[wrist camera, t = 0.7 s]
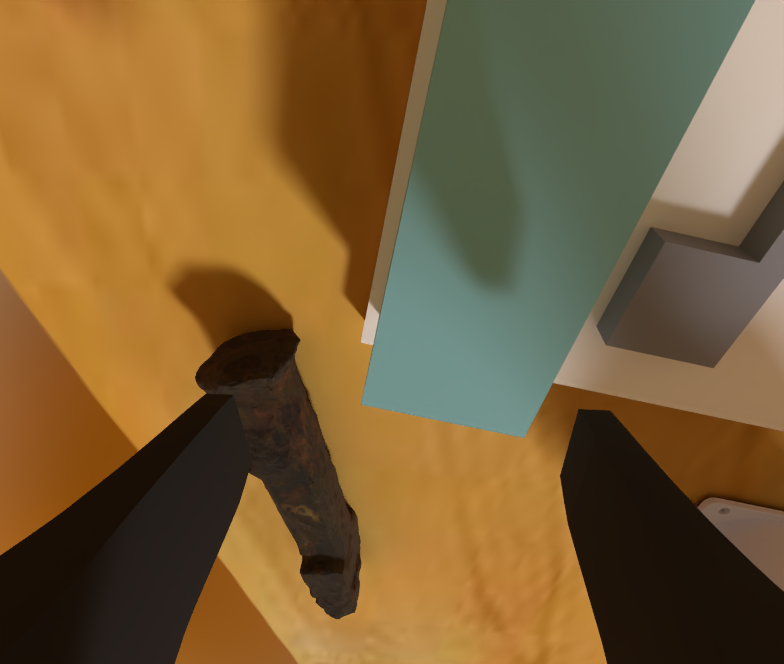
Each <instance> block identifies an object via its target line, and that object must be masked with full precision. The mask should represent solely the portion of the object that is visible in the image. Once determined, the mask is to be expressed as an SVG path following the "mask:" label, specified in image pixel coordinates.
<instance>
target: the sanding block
mask: <svg viewBox="0 0 784 664" xmlns="http://www.w3.org/2000/svg"><path fill="white" fill-rule="evenodd" d="M754 2H755V0H447V2H446V7H445V11H444V16H443V21H442V25H441V30H440V35H439V39H438V44H437V49H436V53H435V58H434V63H433V67H432V72H431V77H430V81H429V86H428V91H427V95H426V100H425V105H424V109H423V114H422V119H421V123H420V128H419V133H418V137H417V142H416V147H415V151H414V156H413V161H412V165H411V170H410V174H409V179H408V184H407V188H406V193H405V198H404V202H403V207H402V212H401V216H400V221H399V226H398V230H397V235H396V240H395V244H394V249H393V254H392V258H391V263H390V268H389V272H388V277H387V282H386V286H385V291H384V296H383V300H382V305H381V310H380V314H379V319H378V324H377V329H376V334H375V339H374V344H373V348H372V353H371V358H370V363H369V368H368V373H367V378H366V382H365V387H364V392H363V397H362V402H361V405H366V406H371V407H375V408H380V409H385V410H390V411H395V412H400V413H405V414H410V415H414V416H419V417H424V418H429V419H434V420H439V421H444V422H449V423H453V424H458V425H463V426H468V427H473V428H478V429H483V430H488V431H493V432H497V433H502V434H507V435H512V436H517V437H522V438H524V437H525V435H526V433H527V431H528V429H529V427H530V426H531V424H532V422H533V420H534V418H535V416H536V414H537V412H538V410H539V409H540V407H541V405H542V403H543V401H544V399H545V397H546V395H547V393H548V391H549V390H550V388H551V386H552V384H553V382H554V380H555V378H556V376H557V374H558V373H559V371H560V369H561V367H562V365H563V363H564V361H565V359H566V357H567V356H568V354H569V352H570V350H571V348H572V346H573V344H574V342H575V340H576V339H577V337H578V335H579V333H580V331H581V329H582V327H583V325H584V323H585V322H586V320H587V318H588V316H589V314H590V312H591V310H592V308H593V306H594V305H595V303H596V301H597V299H598V297H599V295H600V293H601V291H602V289H603V287H604V286H605V284H606V282H607V280H608V278H609V276H610V274H611V272H612V270H613V269H614V267H615V265H616V263H617V261H618V259H619V257H620V255H621V253H622V252H623V250H624V248H625V246H626V244H627V242H628V240H629V238H630V236H631V235H632V233H633V231H634V229H635V227H636V225H637V223H638V221H639V219H640V218H641V216H642V214H643V212H644V210H645V208H646V206H647V204H648V202H649V201H650V199H651V197H652V195H653V193H654V191H655V189H656V187H657V185H658V183H659V182H660V180H661V178H662V176H663V174H664V172H665V170H666V168H667V166H668V165H669V163H670V161H671V159H672V157H673V155H674V153H675V151H676V149H677V148H678V146H679V144H680V142H681V140H682V138H683V136H684V134H685V132H686V131H687V129H688V127H689V125H690V123H691V121H692V119H693V117H694V115H695V114H696V112H697V110H698V108H699V106H700V104H701V102H702V100H703V98H704V97H705V95H706V93H707V91H708V89H709V87H710V85H711V83H712V81H713V79H714V78H715V76H716V74H717V72H718V70H719V68H720V66H721V64H722V62H723V61H724V59H725V57H726V55H727V53H728V51H729V49H730V47H731V45H732V44H733V42H734V40H735V38H736V36H737V34H738V32H739V30H740V28H741V27H742V25H743V23H744V21H745V19H746V17H747V15H748V13H749V11H750V10H751V8H752V6H753V4H754Z"/></svg>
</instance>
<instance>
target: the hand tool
mask: <svg viewBox="0 0 784 664" xmlns="http://www.w3.org/2000/svg"><path fill="white" fill-rule="evenodd" d="M299 342H300V339H299V338H298V336H297V335H296V334H295V333H294V332H293V331H292V330H291V329H283V330H275V331H270V330H262V331H256V332H251V333H246V334H243V335H240V336H237V337H234V338H232V339H230V340H228V341H226V342H224V343H223V344H222V345H220V346H219V347H218V348H217V349H216V351H215V352H214V353H213V354H212V356H211V357H210V358H209V359H208V360H206V361H205V362H204V363H203V364H202V365H201V366H200V368H199V369H198V371H197V373H196V376H195V379H196V382H197V384H198V386H199V387H200V388H201V389H203V390H204V391H205V392H206V393H207V394H228V395H234V398H235V402H236V405H237V409H238V412H239V415H240V419H241V422H242V426H243V429H244V433H245V436H246V440H247V443H248V446H249V450H250V453H251V457H252V461H251V465H250V468H249V473H250V474H252V475H253V476H255V477H257V478H259V479H261V480H262V481H263V483H264V485H265V488H266V489H267V490H268V492H269V494H270V496H271V498H272V499H273V501H274V503H275V505H276V507H277V509H278V511H279V513H280V514H281V516H282V518H283V520H284V522H285V524H286V526H287V527H288V529H289V531H290V532H291V534H292V536H293V538H294V539H295V541H296V543H297V545H298V548H299V552H300V555H302V564H301V568H300V574H301V576H302V578H303V580H304V582H305V583H306V585H307V586H308V587H309V588H310V594H311V596H312V597H314V598H316V603H317V604H318V605H319V606H320V607H321V608H323V609H324V611H325V613H326V614H328V615H329V616H331V617H333V618H335V619H340V618H341V617H343V616H346V615H349V614H351V613H355V610H356V607H357V600H358V596H359V587H360V581H359V571H360V569H361V559H360V542H361V541H360V536H359V532H358V530H359V529H358V521H357V516H356V513H355V511H354V510H353V509H350V508H347V506H346V503H345V500H344V496H343V493H342V490H341V488H340V485H339V482H338V477H337V473H336V470H335V467H334V465H333V464H332V462H331V460H330V457H329V454H328V451H327V448H326V446H325V442H324V438H323V436H322V432H321V429H320V426H319V422H318V418H317V415H316V413H315V412H314V410H313V409H312V407H311V404H310V401H309V399H308V397H307V394H306V391H305V389H304V387H303V384H302V382H301V379H300V377H299V374H298V371H297V367H296V364H295V353H296V351H297V346H298V344H299Z"/></svg>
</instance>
